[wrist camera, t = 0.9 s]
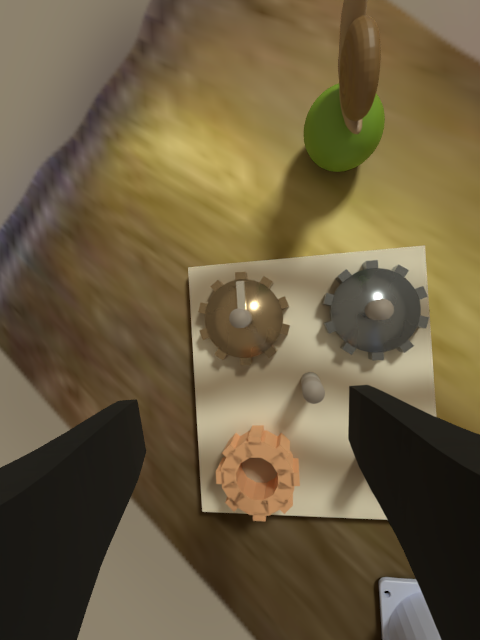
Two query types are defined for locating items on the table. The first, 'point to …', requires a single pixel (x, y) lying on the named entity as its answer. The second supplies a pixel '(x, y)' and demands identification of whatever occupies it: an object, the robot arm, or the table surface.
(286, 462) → the idler gear
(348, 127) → the snail figurine
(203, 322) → the gear board
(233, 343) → the gear
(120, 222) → the table surface
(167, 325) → the table surface
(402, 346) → the gear
